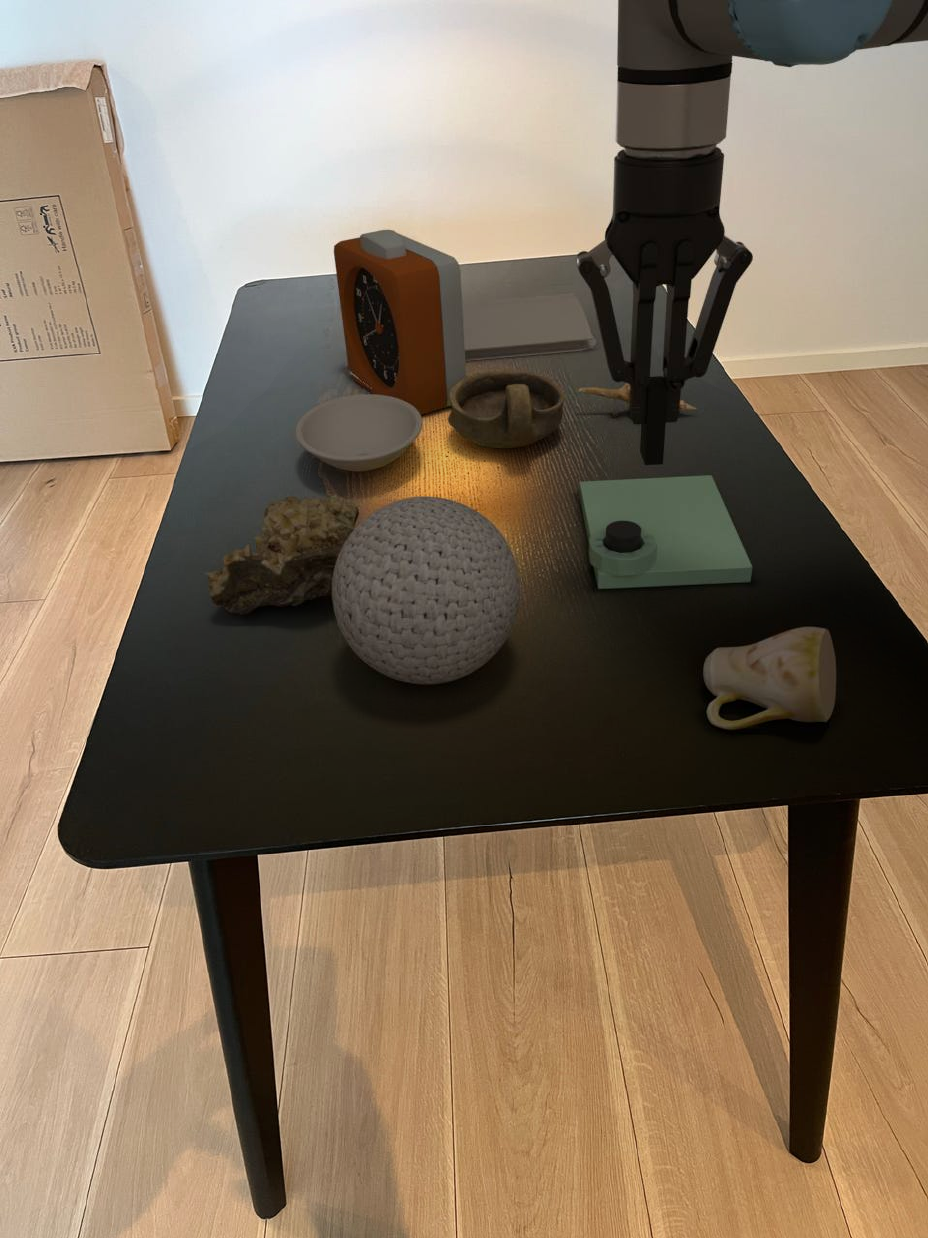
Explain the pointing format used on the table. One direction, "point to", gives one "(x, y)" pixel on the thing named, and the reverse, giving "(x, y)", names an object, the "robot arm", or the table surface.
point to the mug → (775, 678)
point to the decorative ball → (425, 590)
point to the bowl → (505, 408)
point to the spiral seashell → (623, 395)
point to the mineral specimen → (286, 556)
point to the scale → (663, 533)
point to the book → (525, 327)
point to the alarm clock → (401, 317)
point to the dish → (359, 430)
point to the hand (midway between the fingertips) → (651, 457)
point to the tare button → (623, 536)
